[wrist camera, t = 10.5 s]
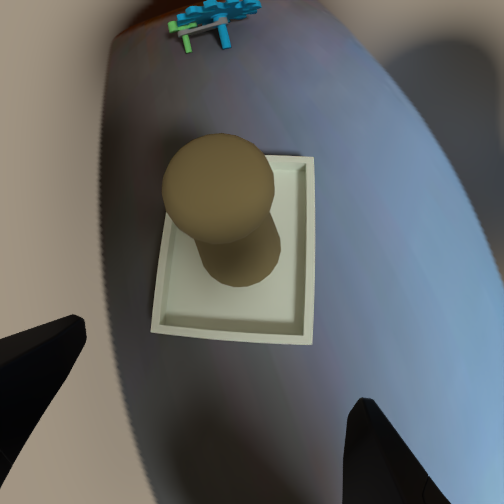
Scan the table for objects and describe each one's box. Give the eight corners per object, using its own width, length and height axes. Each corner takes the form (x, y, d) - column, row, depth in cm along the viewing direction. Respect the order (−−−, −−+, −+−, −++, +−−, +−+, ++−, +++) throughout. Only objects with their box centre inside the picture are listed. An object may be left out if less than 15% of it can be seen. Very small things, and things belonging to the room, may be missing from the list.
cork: (183, 249, 23) (118, 179, 13) (238, 194, 24) (214, 95, 14) (241, 304, 22) (209, 270, 11) (298, 243, 23) (315, 161, 12)
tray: (309, 344, 21) (311, 344, 20) (159, 333, 22) (150, 332, 21) (311, 168, 25) (313, 157, 23) (182, 167, 26) (176, 155, 24)
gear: (261, 7, 31) (255, -16, 22) (271, 45, 34) (267, 31, 25) (180, 27, 33) (153, 12, 24) (189, 64, 36) (163, 58, 27)
